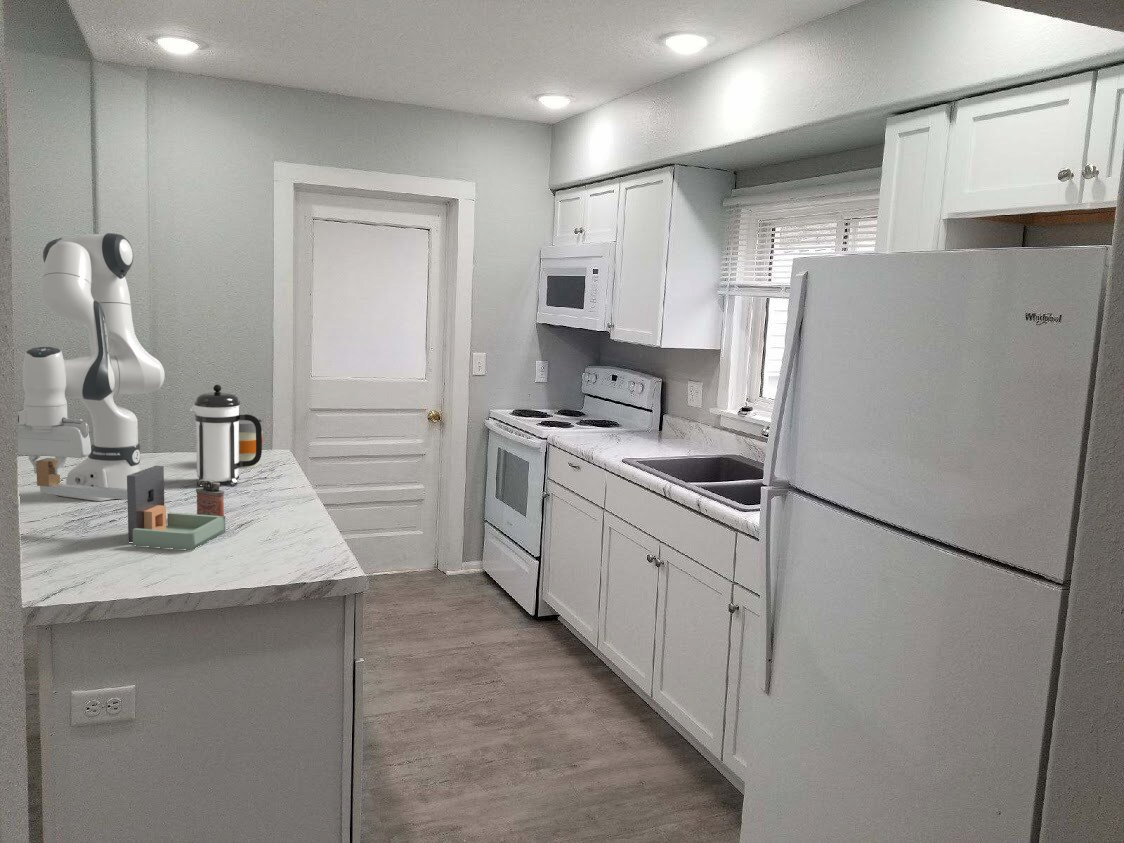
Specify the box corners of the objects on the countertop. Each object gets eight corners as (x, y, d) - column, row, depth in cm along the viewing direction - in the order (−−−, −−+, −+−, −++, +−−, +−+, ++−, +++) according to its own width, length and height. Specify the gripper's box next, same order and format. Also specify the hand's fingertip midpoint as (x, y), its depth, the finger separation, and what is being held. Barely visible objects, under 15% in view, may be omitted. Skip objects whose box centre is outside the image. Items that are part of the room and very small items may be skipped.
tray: (133, 546, 200) (132, 529, 200) (170, 528, 216) (170, 512, 215) (192, 550, 199) (192, 534, 198) (225, 532, 215) (225, 516, 214)
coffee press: (215, 491, 255) (214, 389, 250) (181, 482, 263) (179, 383, 259) (263, 481, 269) (263, 385, 265) (230, 474, 278) (229, 380, 273)
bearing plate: (128, 543, 202) (126, 475, 200) (157, 529, 214) (155, 465, 212) (136, 543, 202) (135, 476, 200) (164, 530, 214) (163, 466, 212)
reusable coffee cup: (256, 470, 285) (255, 424, 283) (217, 468, 285) (217, 422, 283) (269, 462, 297) (269, 419, 295) (232, 460, 298) (232, 417, 295)
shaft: (37, 493, 207) (36, 460, 206) (48, 490, 211) (47, 457, 210) (141, 501, 205) (140, 468, 204) (151, 497, 209) (150, 465, 208)
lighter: (227, 518, 227) (227, 481, 225) (218, 521, 224) (218, 483, 222) (202, 514, 229) (202, 477, 228) (193, 517, 226) (192, 480, 225)
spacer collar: (144, 536, 205) (143, 511, 204) (158, 529, 211) (157, 505, 210) (152, 536, 205) (151, 511, 204) (166, 529, 211) (165, 505, 210)
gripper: (96, 417, 209) (97, 474, 211) (15, 412, 210) (18, 468, 212) (79, 421, 202) (81, 479, 204) (-4, 415, 204) (-1, 473, 206)
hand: (48, 473), depth 208 cm, fingers closed on shaft, 3 cm apart
